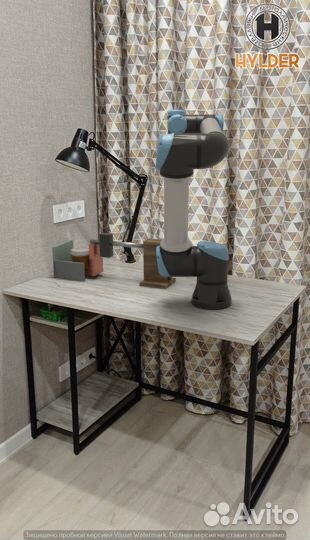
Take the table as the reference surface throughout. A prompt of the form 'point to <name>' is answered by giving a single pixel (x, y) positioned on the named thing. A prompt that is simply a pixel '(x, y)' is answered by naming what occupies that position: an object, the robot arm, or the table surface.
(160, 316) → the table surface
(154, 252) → the brown wooden flanged block
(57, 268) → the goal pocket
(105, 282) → the table surface
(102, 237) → the player rod
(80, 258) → the disposable coffee cup
